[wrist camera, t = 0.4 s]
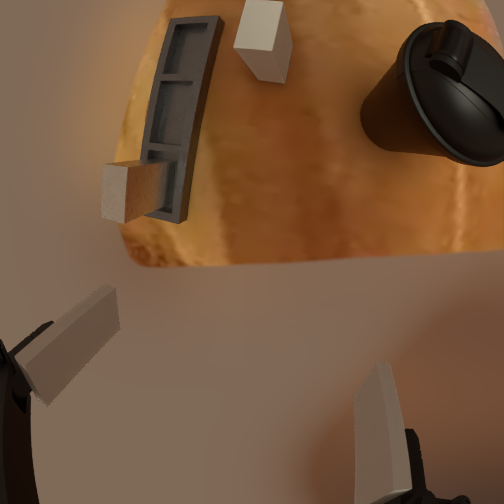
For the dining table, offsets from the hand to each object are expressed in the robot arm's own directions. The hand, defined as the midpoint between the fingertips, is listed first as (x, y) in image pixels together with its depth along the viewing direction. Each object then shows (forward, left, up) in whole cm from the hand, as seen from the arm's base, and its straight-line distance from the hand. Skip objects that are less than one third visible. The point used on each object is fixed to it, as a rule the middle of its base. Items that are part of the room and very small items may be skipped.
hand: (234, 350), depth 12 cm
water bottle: (-17, +10, -26) cm, 33 cm away
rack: (-12, -18, -26) cm, 33 cm away
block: (-21, -6, -26) cm, 33 cm away
